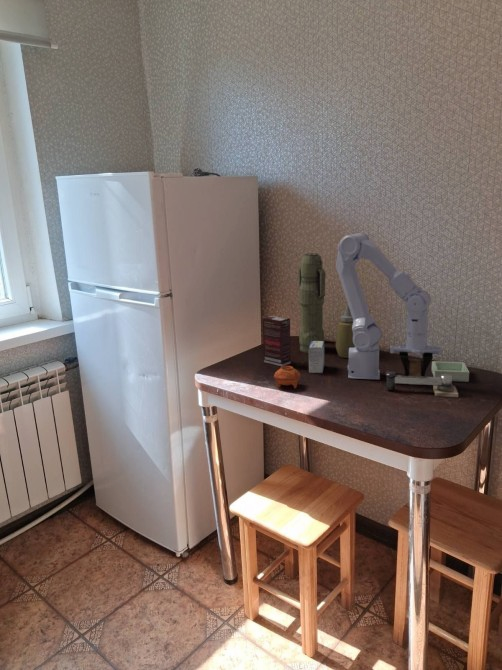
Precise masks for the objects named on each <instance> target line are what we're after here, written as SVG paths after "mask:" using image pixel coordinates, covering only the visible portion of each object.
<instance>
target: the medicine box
mask: <svg viewBox="0 0 502 670" xmlns="http://www.w3.org/2000/svg"><path fill="white" fill-rule="evenodd" d="M324 368H325V340H324V341H311V344H310V347H309V353H308V372H309V373H311V374H323V372H324Z"/></svg>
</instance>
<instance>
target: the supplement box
mask: <svg viewBox="0 0 502 670" xmlns="http://www.w3.org/2000/svg"><path fill="white" fill-rule="evenodd" d="M262 338H263V339H262V340H263V345H262V346H263V362H264V363H267V364H269V365H273V366H274V365H275V366H278V367H283V366H289V365H290V364H291V358H292V357H291V318H289V317H283V316H277V315H267V316H263V317H262Z"/></svg>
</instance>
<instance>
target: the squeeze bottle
mask: <svg viewBox="0 0 502 670" xmlns="http://www.w3.org/2000/svg"><path fill="white" fill-rule="evenodd" d="M352 326H353V318H352V315H351V312H350V309H349V305H348V304H347V305H345V309H344V313H343V315H341V316H340V321H339V322H338V323H337V331H336V339H335V348H336V352H337V355H338V356H339V357H340V358H344V359H345V358H346V359H349V348H354V347H355V345H354V343H353V331H352Z"/></svg>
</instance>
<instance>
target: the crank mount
mask: <svg viewBox="0 0 502 670" xmlns="http://www.w3.org/2000/svg"><path fill="white" fill-rule="evenodd" d="M398 375H399V376H402V375H400V374H398ZM432 389H433V392H434V396H435V397H446V398H459V392H458V389H457V388H456V386H455V385H454V384H452V385H451V386H450V387H445V386H441V385H432Z"/></svg>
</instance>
